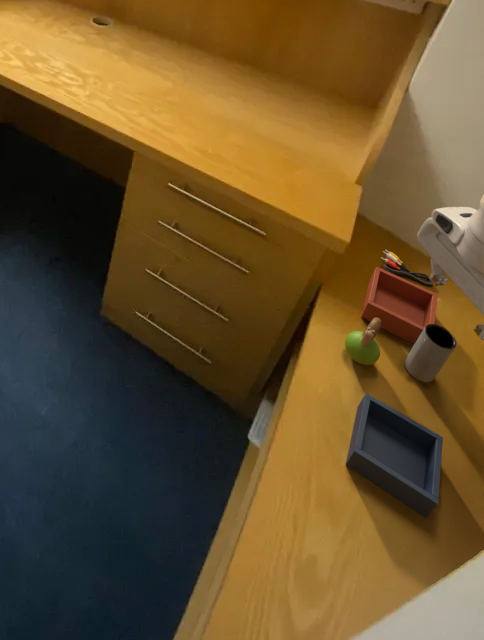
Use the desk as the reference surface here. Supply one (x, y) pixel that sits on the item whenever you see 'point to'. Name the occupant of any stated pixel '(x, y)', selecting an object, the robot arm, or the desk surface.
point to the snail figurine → (364, 344)
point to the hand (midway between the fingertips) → (457, 307)
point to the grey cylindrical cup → (430, 352)
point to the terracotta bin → (399, 305)
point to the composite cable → (403, 268)
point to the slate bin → (396, 454)
